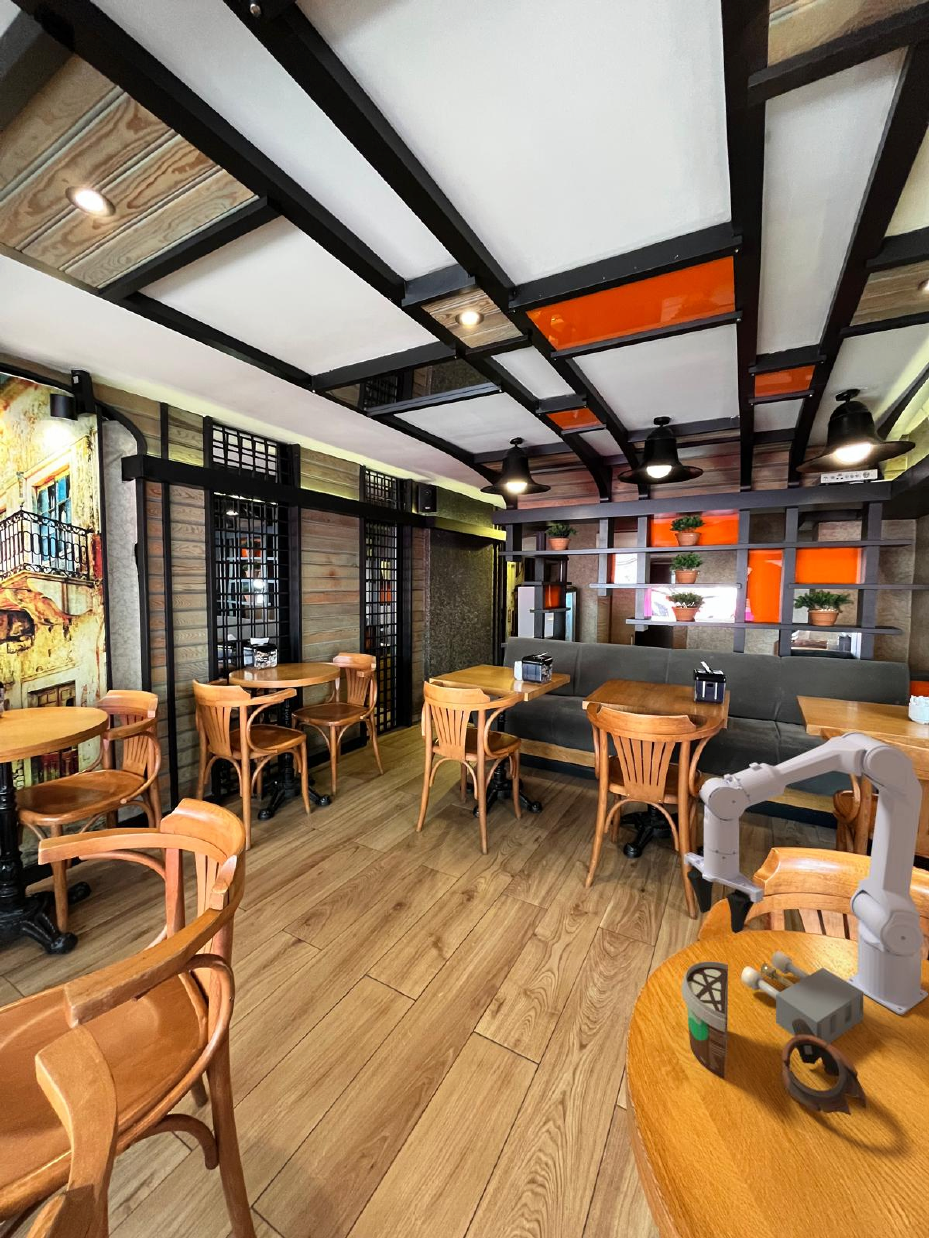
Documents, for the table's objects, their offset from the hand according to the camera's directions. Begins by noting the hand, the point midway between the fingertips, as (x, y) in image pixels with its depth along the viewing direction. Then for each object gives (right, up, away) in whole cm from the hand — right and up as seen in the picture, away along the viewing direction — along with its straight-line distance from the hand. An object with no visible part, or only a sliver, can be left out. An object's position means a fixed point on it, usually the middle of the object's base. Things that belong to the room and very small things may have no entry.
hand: (720, 920), depth 91 cm
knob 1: (+4, -8, -8) cm, 12 cm away
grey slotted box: (+10, -10, -11) cm, 18 cm away
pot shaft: (+8, -8, -6) cm, 12 cm away
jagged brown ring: (+2, -10, -22) cm, 24 cm away
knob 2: (+11, -8, -4) cm, 15 cm away
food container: (-10, -10, -15) cm, 21 cm away
